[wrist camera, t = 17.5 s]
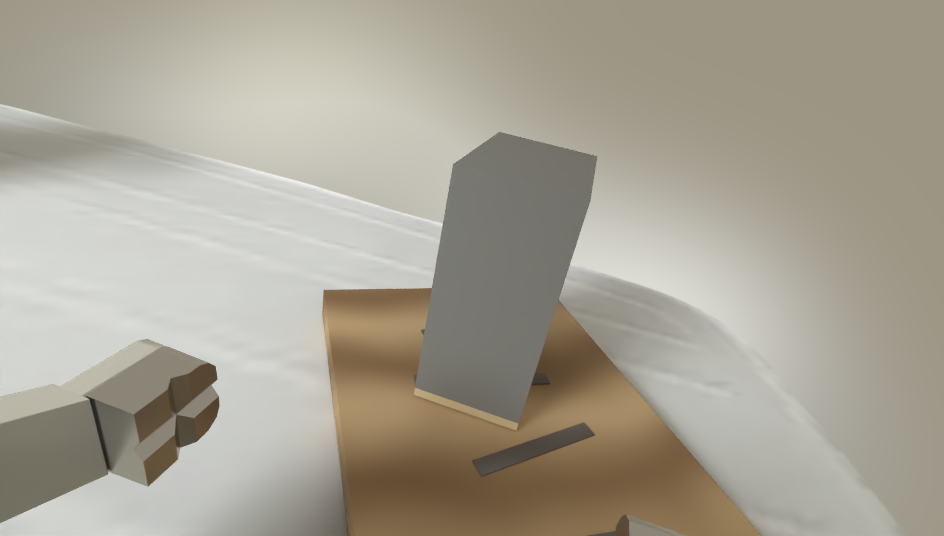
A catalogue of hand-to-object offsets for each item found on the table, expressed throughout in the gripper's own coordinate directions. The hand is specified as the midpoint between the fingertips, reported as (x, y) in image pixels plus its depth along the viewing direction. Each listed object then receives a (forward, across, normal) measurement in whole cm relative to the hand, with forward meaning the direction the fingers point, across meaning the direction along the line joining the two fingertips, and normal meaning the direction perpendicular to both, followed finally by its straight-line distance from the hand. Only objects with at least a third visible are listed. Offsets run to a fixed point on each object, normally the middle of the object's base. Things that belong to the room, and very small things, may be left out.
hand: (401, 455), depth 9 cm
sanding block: (+12, 0, +7) cm, 14 cm away
